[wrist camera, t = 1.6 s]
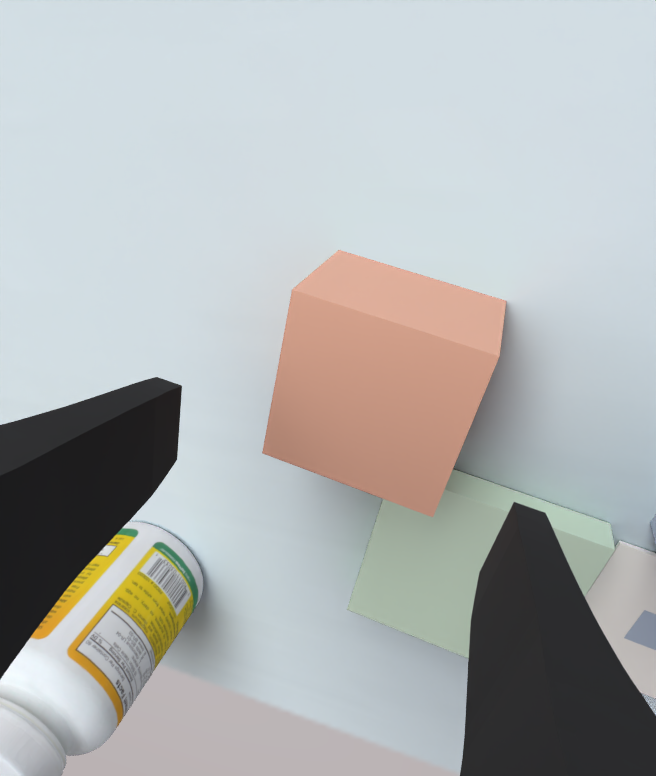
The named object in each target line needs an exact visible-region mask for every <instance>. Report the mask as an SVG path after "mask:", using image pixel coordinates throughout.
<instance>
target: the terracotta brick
mask: <svg viewBox="0 0 656 776" xmlns="http://www.w3.org/2000/svg"><path fill="white" fill-rule="evenodd" d="M505 308H506V301H505V300H502V299H498V298H495V297H492V296H488V295H485V294H482V293H479V292H475V291H472V290H469V289H465V288H462V287H459V286H456V285H452V284H449V283H446V282H442V281H439V280H436V279H433V278H429V277H426V276H423V275H419V274H416V273H413V272H410V271H406V270H403V269H400V268H397V267H393V266H390V265H387V264H383V263H380V262H377V261H374V260H370V259H367V258H364V257H360V256H357V255H354V254H351V253H347V252H344V251H341V250H338V251H337V252H336V253H335V254H334V255H333V256H331V257H330V258H329V259H328V260H327V261H325V262H324V263H323V264H322V265H321V266H319V267H318V268H317V269H316V270H315V271H314V272H312V273H311V274H310V275H309V276H308V277H306V278H305V279H304V280H303V281H302V282H301V283H299V284H298V285H297V286H296V287H295V288H293V289H292V294H291V299H290V305H289V310H288V315H287V321H286V326H285V332H284V337H283V343H282V348H281V354H280V359H279V365H278V370H277V376H276V381H275V387H274V392H273V398H272V403H271V409H270V414H269V419H268V425H267V430H266V436H265V441H264V447H263V452H262V453H263V454H266V455H269V456H271V457H274V458H277V459H279V460H282V461H285V462H287V463H290V464H292V465H295V466H298V467H300V468H303V469H306V470H308V471H311V472H314V473H316V474H319V475H322V476H324V477H327V478H330V479H332V480H335V481H338V482H340V483H343V484H346V485H348V486H351V487H353V488H356V489H359V490H361V491H364V492H367V493H369V494H372V495H375V496H377V497H380V498H383V499H385V500H388V501H391V502H393V503H396V504H399V505H401V506H404V507H407V508H409V509H412V510H414V511H417V512H420V513H422V514H425V515H428V516H430V517H433V516H434V514H435V511H436V509H437V506H438V504H439V501H440V499H441V497H442V494H443V492H444V489H445V487H446V485H447V482H448V480H449V477H450V475H451V472H452V470H453V468H454V465H455V463H456V460H457V458H458V456H459V453H460V451H461V448H462V446H463V443H464V441H465V439H466V436H467V434H468V431H469V429H470V427H471V424H472V422H473V419H474V417H475V414H476V412H477V410H478V407H479V405H480V402H481V400H482V398H483V395H484V393H485V390H486V388H487V385H488V383H489V381H490V378H491V376H492V373H493V371H494V369H495V366H496V364H497V361H498V359H499V356H500V348H501V340H502V332H503V324H504V316H505Z"/></svg>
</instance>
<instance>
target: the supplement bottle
mask: <svg viewBox="0 0 656 776" xmlns="http://www.w3.org/2000/svg"><path fill="white" fill-rule="evenodd" d="M202 592H203V576H202V572H201V569H200V567H199V564H198V563H197V561H196V559H195V557H194V556H193V554H192V553H191V552H190V550H189V549H188V548H187V547H186V546H185V545H184V544H183V543H182V542H181V541H180V540H178V539H177V538H176V537H174V536H173V535H172V534H170V533H168V532H167V531H165V530H163V529H161V528H159V527H157V526H154V525H151V524H147V523H142V522H127V523H126V525H125V526H124V527H123V528H122V529H121V530H120V531H119V532H118V533H117V534H116V535H115V536H114V537H113V538H112V540H111V541H110V542H109V543H108V544H107V545H106V546H105V547H104V548H103V549H102V550H101V551H100V552H99V553H98V555H97V556H96V557H95V558H94V559H93V560H92V561H91V562H90V563H89V564H88V565H87V566H86V567H85V568H84V570H83V571H82V572H81V573H80V574H79V575H78V576H77V578H76V579H75V580H74V581H73V582H72V583H71V585H70V586H69V587H68V588H67V589H66V591H65V592H64V593H63V595H62V596H61V597H60V599H59V600H58V601H57V603H56V604H55V605H54V606H53V608H52V609H51V610H50V612H49V613H48V614H47V616H46V617H45V618H44V620H43V621H42V622H41V624H40V625H39V626H38V628H37V629H36V630H35V632H34V633H33V634H32V636H31V637H30V639H29V640H28V641H27V643H26V644H25V646H24V647H23V648H22V650H21V651H20V653H19V654H18V655H17V657H16V658H15V659H14V661H13V662H12V664H11V665H10V666H9V668H8V669H7V671H6V672H5V674H4V675H3V676H2V678H1V679H0V776H61V775H62V773H63V770H64V768H65V765H66V755H68V756H71V755H72V756H74V755H82V754H86V753H89V752H91V751H94V750H95V749H97V748H99V747H100V746H102V745H103V744H104V743H105V742H106V741H107V740H108V739H109V738H110V736H111V735H112V734H113V732H114V731H115V729H116V728H117V726H118V725H119V723H120V722H121V720H122V719H123V717H124V716H125V714H126V713H127V711H128V710H129V708H130V706H131V705H132V704H133V702H134V701H135V699H136V698H137V696H138V695H139V693H140V691H141V690H142V688H143V687H144V685H145V683H146V682H147V681H148V679H149V678H150V676H151V675H152V673H153V671H154V670H155V668H156V667H157V665H158V663H159V662H160V660H161V659H162V657H163V656H164V655H165V653H166V651H167V650H168V648H169V647H170V645H171V644H172V642H173V641H174V639H175V638H176V636H177V635H178V633H179V632H180V630H181V629H182V627H183V626H184V624H185V623H186V621H187V620H188V618H189V617H190V615H191V614H192V612H193V611H194V609H195V607H196V606H197V604H198V603H199V601H200V598H201V596H202Z"/></svg>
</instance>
